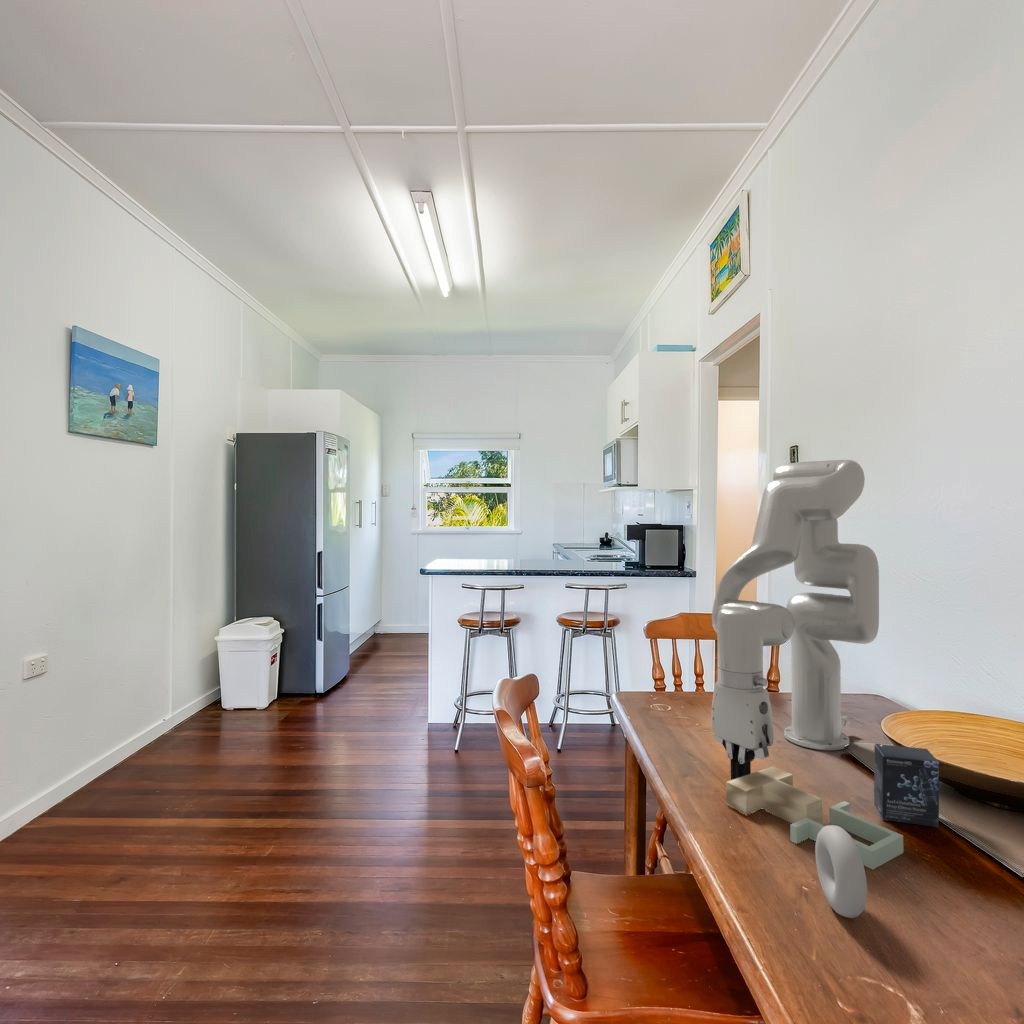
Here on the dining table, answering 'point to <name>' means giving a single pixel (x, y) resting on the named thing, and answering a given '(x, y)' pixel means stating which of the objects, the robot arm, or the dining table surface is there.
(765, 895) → the dining table surface
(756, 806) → the t block
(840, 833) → the donut
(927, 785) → the box
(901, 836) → the t dock
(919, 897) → the dining table surface
